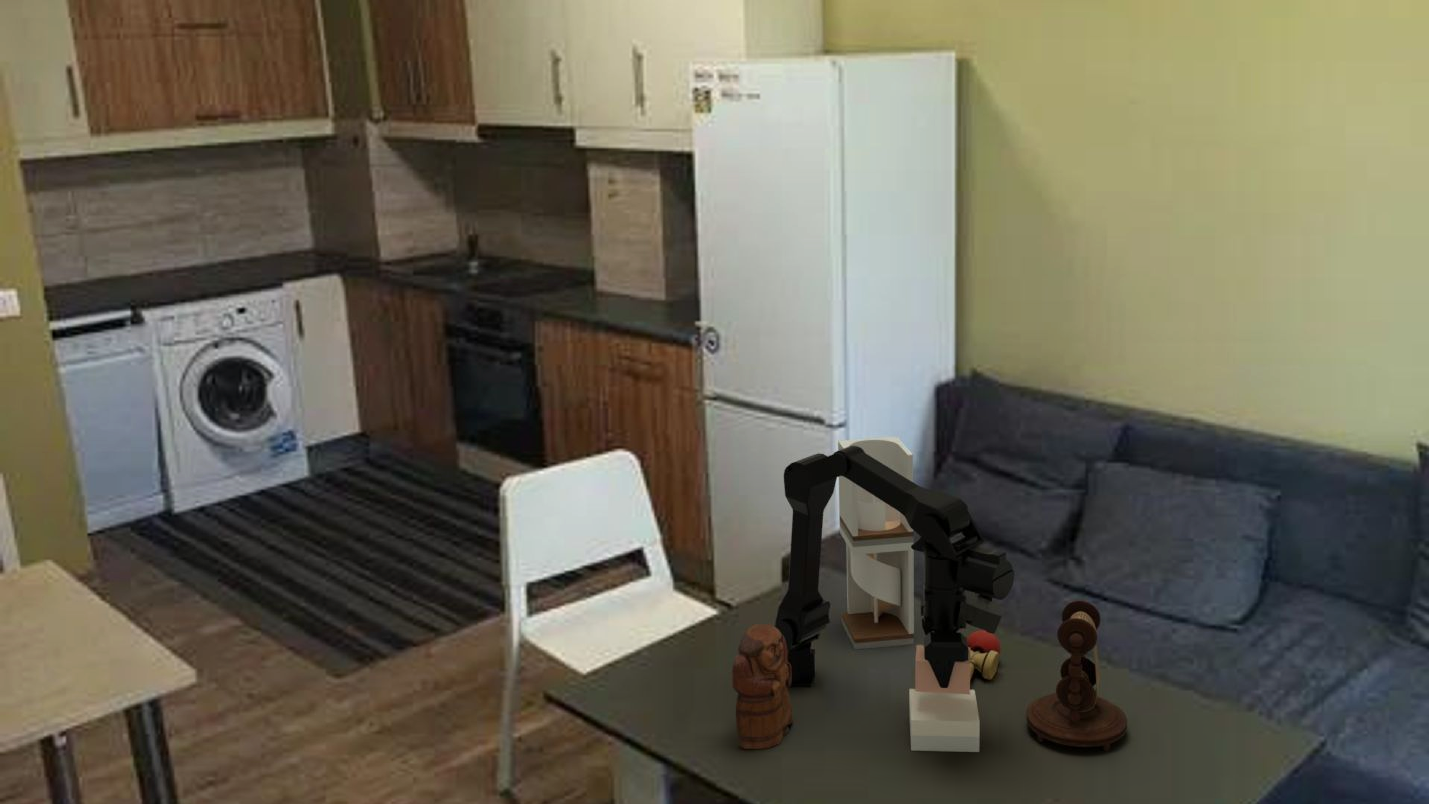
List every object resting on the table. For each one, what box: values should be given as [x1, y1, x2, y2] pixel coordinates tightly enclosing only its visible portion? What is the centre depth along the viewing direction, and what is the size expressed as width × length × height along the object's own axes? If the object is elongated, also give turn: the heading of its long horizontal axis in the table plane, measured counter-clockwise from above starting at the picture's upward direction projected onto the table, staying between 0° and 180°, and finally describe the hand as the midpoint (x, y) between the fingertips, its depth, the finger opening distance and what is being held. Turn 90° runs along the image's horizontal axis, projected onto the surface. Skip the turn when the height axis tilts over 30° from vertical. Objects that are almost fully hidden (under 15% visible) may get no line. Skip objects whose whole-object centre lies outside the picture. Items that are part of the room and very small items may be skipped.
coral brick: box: [914, 644, 971, 694], centre depth 194 cm, size 8×6×5 cm
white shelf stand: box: [837, 436, 915, 650], centre depth 228 cm, size 11×11×35 cm
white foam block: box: [908, 688, 981, 753], centre depth 196 cm, size 10×10×5 cm
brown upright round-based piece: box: [1025, 600, 1128, 752], centre depth 193 cm, size 15×15×20 cm
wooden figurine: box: [731, 623, 793, 750], centre depth 197 cm, size 12×6×18 cm, turn 154°
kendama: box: [966, 629, 1001, 681], centre depth 213 cm, size 8×6×18 cm
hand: (943, 678), depth 194 cm, fingers closed on coral brick, 6 cm apart
